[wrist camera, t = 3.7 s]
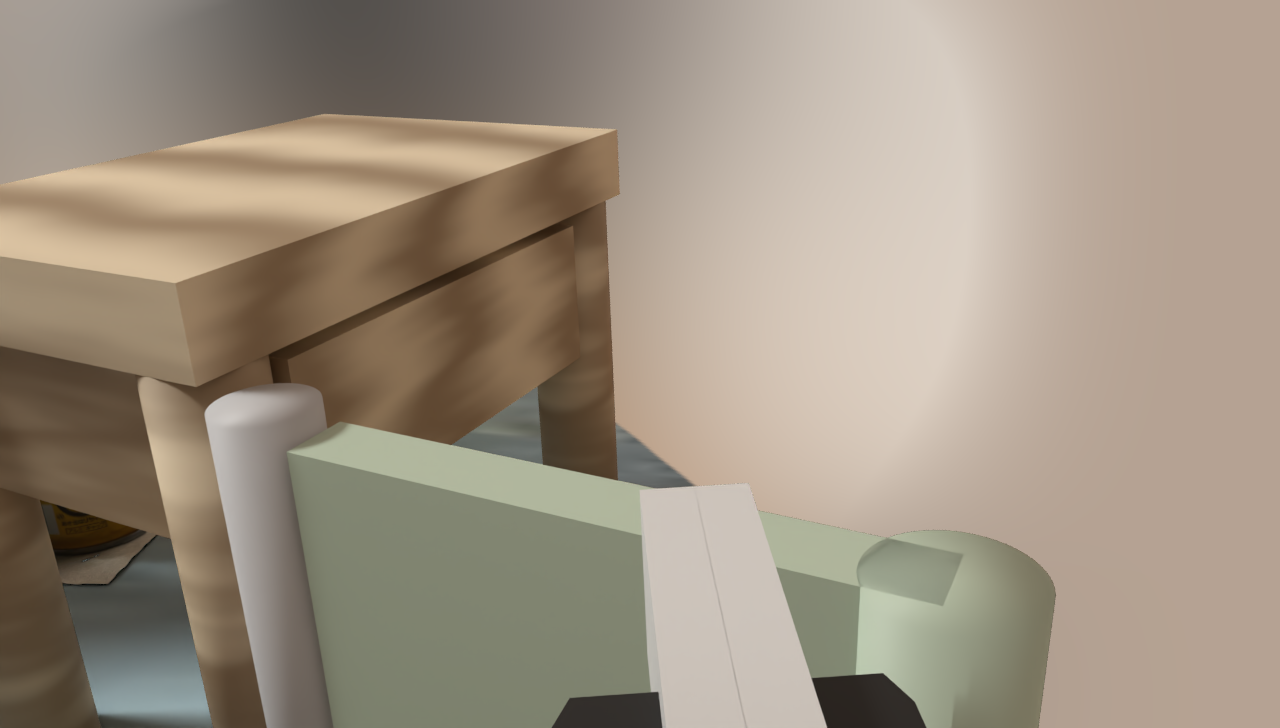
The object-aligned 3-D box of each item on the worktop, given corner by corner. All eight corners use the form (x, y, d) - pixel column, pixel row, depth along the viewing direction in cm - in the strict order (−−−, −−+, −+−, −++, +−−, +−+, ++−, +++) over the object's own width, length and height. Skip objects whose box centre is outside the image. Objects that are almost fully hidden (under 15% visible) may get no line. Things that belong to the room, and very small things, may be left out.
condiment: (202, 490, 53) (154, 254, 48) (108, 587, 45) (40, 316, 41) (62, 488, 53) (1, 256, 49) (-55, 583, 46) (-139, 317, 41)
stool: (301, 909, 29) (175, 283, 23) (-19, 757, 35) (-193, 226, 29) (633, 554, 46) (617, 129, 39) (376, 491, 52) (324, 114, 45)
